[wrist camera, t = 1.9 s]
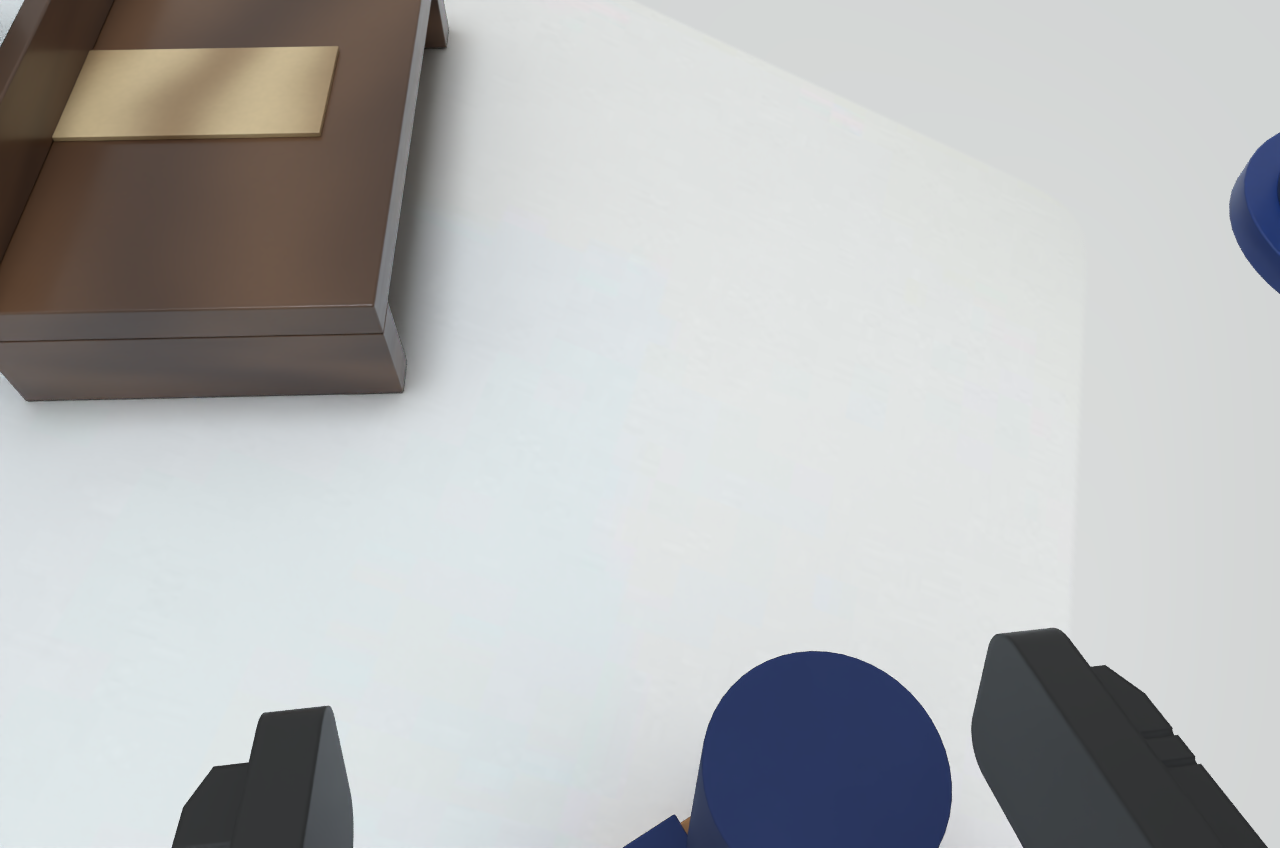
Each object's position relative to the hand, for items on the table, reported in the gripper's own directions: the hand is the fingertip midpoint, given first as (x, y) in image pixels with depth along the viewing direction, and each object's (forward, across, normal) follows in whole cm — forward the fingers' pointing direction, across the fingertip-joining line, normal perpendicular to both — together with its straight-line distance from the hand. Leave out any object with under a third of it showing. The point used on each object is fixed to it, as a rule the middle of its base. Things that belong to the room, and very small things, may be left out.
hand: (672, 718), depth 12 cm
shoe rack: (+36, +11, +4) cm, 38 cm away
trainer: (+8, -2, +17) cm, 19 cm away
